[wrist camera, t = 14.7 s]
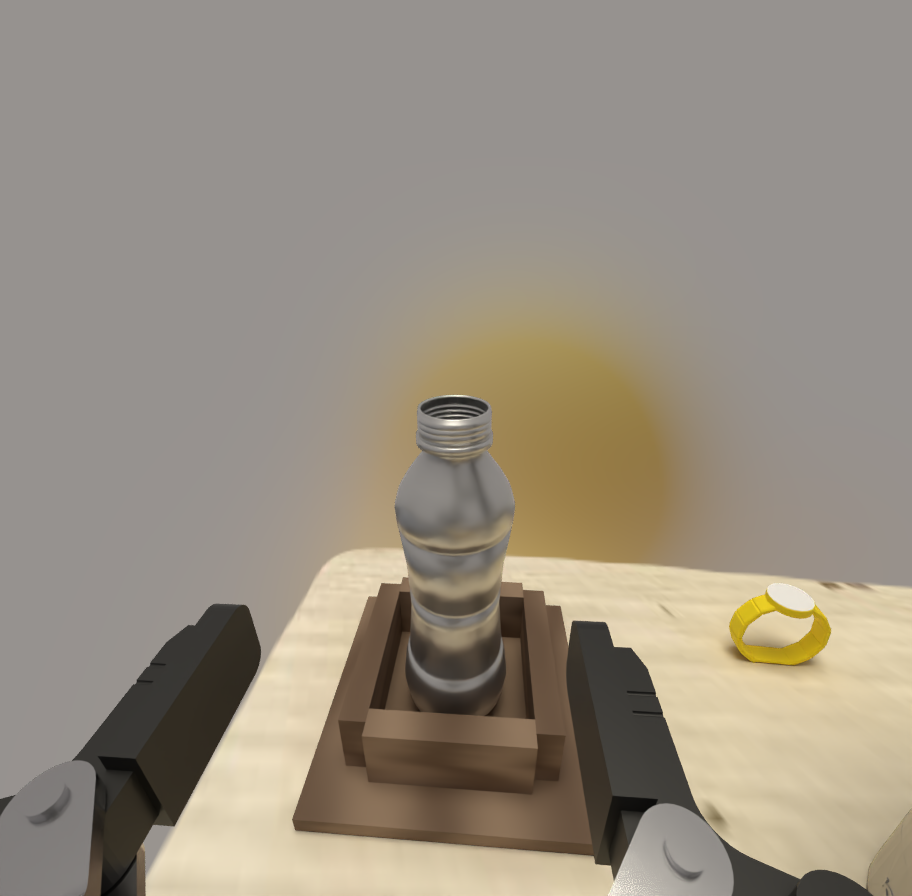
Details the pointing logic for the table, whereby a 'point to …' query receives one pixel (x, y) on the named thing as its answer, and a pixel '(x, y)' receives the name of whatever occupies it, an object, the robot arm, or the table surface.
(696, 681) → the table surface
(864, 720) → the table surface
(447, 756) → the bottle rack
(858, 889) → the robot arm
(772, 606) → the watch
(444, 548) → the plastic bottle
